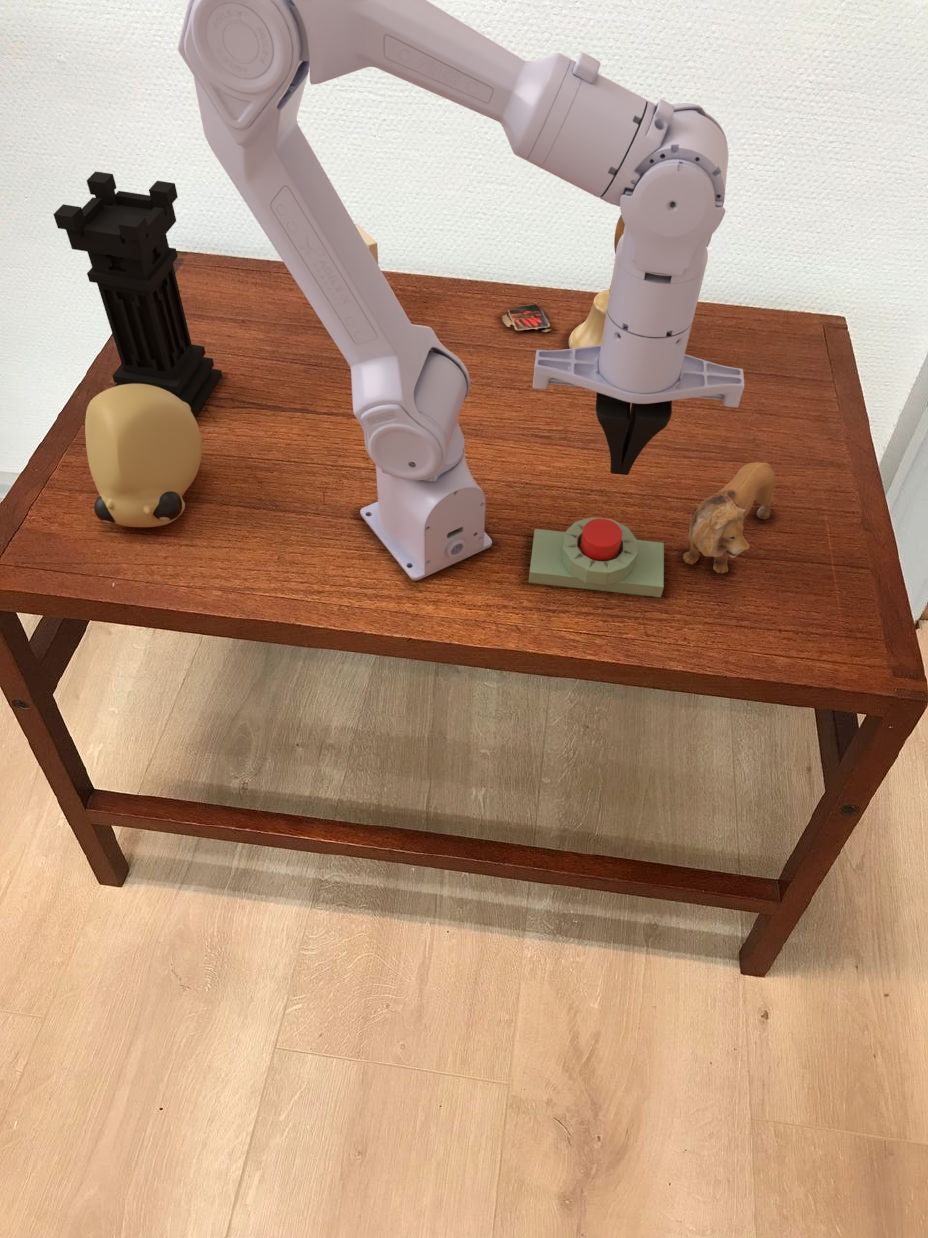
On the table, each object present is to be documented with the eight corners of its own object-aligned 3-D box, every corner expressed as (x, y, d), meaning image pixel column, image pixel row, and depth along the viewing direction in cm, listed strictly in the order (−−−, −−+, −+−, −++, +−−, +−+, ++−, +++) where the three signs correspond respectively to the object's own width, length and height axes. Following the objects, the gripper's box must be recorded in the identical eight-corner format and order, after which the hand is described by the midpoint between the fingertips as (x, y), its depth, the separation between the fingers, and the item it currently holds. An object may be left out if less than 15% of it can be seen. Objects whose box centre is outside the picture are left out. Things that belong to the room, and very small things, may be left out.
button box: (661, 548, 84) (667, 524, 82) (660, 603, 80) (667, 579, 78) (533, 535, 85) (536, 510, 82) (527, 588, 81) (530, 563, 79)
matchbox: (533, 303, 106) (534, 299, 106) (557, 329, 103) (558, 325, 103) (495, 314, 105) (496, 310, 104) (518, 340, 102) (519, 336, 102)
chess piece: (111, 413, 94) (46, 215, 78) (147, 363, 98) (93, 168, 83) (189, 427, 93) (139, 230, 77) (222, 376, 97) (181, 181, 82)
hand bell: (647, 325, 104) (676, 180, 92) (648, 373, 99) (679, 226, 87) (569, 319, 105) (587, 173, 92) (567, 367, 100) (585, 219, 87)
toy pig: (111, 520, 90) (57, 528, 79) (108, 386, 88) (52, 376, 77) (217, 524, 89) (176, 533, 79) (216, 389, 87) (174, 380, 77)
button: (619, 535, 81) (622, 520, 80) (618, 563, 79) (621, 548, 78) (581, 530, 82) (583, 516, 80) (579, 558, 80) (581, 544, 78)
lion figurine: (724, 611, 80) (752, 535, 73) (663, 587, 81) (684, 510, 74) (778, 501, 88) (808, 423, 81) (722, 481, 90) (746, 402, 83)
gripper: (756, 288, 67) (712, 440, 77) (544, 269, 68) (529, 422, 78) (763, 350, 62) (716, 502, 73) (537, 329, 63) (522, 483, 74)
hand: (619, 465), depth 75 cm, fingers closed
